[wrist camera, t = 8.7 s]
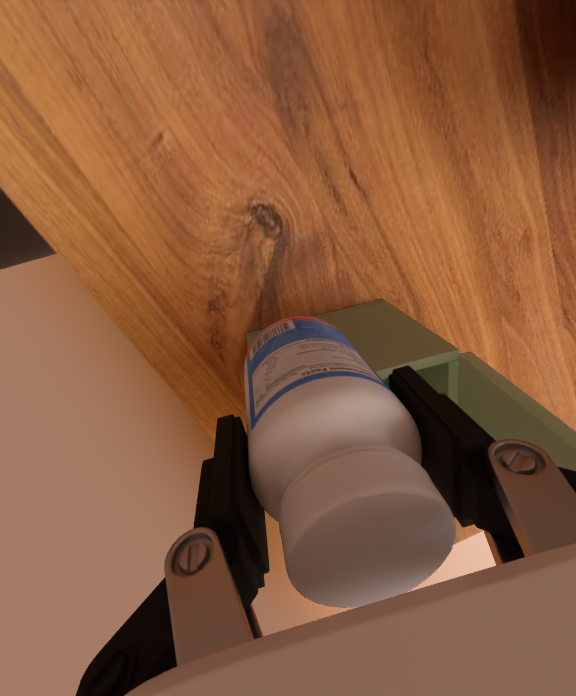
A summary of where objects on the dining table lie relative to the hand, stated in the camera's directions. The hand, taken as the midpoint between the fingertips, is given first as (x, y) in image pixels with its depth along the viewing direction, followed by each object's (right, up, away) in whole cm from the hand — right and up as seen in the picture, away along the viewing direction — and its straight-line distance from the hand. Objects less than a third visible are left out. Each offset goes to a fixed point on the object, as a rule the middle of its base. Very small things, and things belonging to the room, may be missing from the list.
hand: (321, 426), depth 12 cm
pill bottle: (-1, +2, +5) cm, 5 cm away
